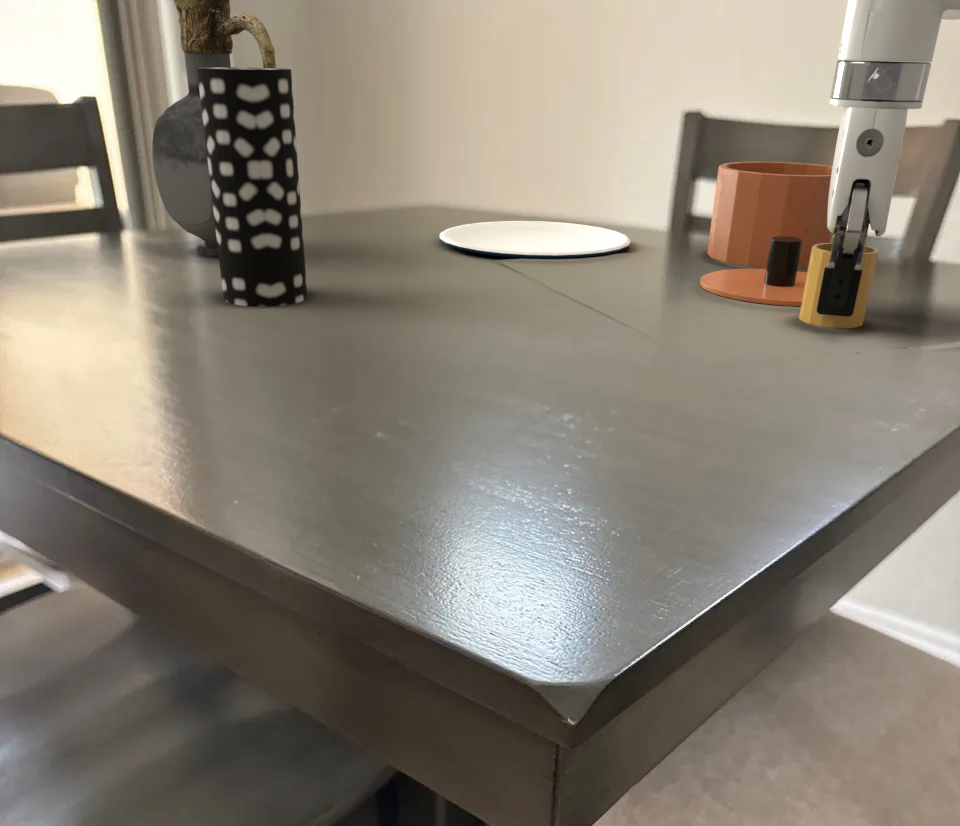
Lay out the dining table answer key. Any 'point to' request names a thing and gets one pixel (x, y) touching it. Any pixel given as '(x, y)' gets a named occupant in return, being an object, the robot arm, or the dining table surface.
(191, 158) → the pitcher
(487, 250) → the plate
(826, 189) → the pot
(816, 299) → the yellow cup
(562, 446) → the dining table surface
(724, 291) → the lid
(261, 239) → the white-spotted black cylinder
